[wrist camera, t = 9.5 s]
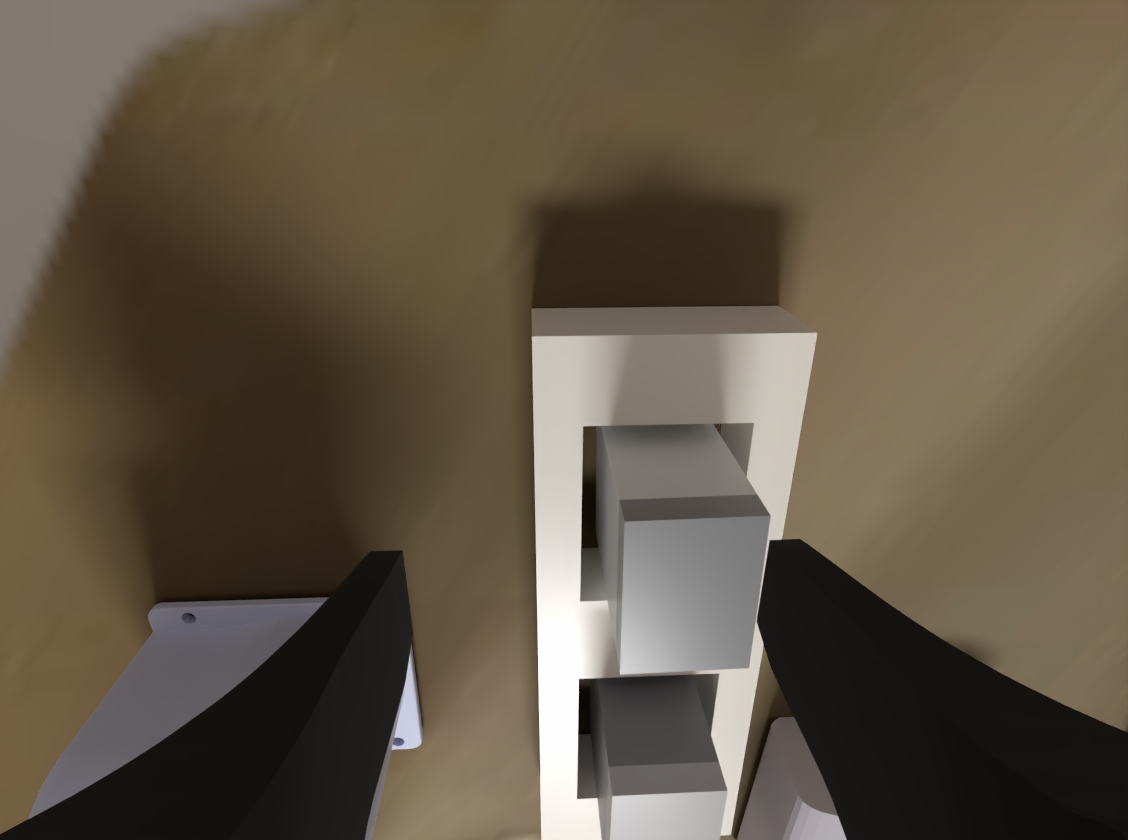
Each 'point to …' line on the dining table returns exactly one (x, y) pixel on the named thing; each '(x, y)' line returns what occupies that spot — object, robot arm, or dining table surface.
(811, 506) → the dining table surface
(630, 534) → the grey plug
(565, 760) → the power strip
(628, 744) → the charcoal plug
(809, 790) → the charger
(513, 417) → the dining table surface
